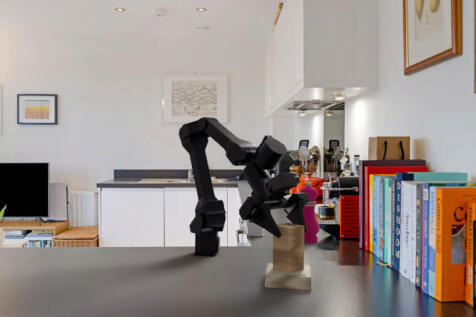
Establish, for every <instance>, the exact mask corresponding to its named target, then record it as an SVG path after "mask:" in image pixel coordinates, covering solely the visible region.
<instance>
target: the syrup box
mask: <svg viewBox="0 0 476 317" xmlns="http://www.w3.org/2000/svg"><path fill="white" fill-rule="evenodd" d="M249 196H251V194H248V195H247V197H249ZM266 234H267V230H265V229H263V228H262V227H260V226H258V225H256V224H255V223H253V222H249V220H247V236H249V237H261V236H263V237H264V236H265V235H266Z"/></svg>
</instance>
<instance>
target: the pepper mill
mask: <svg viewBox="0 0 476 317" xmlns="http://www.w3.org/2000/svg"><path fill="white" fill-rule="evenodd" d="M312 185H313V184H312V182H311V181H307V182H306V186H304V187H302V188H301V189H300V190H299V193H306V194H307V195H308V197H309V198H310V201H309V202H308V203H307V204H306V205H305V207H304V208H303V215H304V220H305V224H306V229H307V232H306V233H305V234H304V244H317V243H318V240H319V239H318V238H319V237H318V235H317V234H318V233H319V231H320V224H319V222H318V220H317V217H316V211H315V209H316V206H317V201H316V200H317V198H318V197H319V192H318V190H317V189H316V188H315V187H314V186H312Z"/></svg>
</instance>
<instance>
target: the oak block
mask: <svg viewBox="0 0 476 317" xmlns="http://www.w3.org/2000/svg"><path fill="white" fill-rule="evenodd" d="M276 224H277V223H276ZM277 226H278V228H279V230H280V232H281V237H280V238H277V237H276V236H274V235H273V234H272V263H273V268H274V269H277V270H280V271H283V272H286V273H291V272H295V271H299V270H303V269H304V265H305V243H304V226H303V225H298V224H293V223H292V222H284V223H278V224H277Z"/></svg>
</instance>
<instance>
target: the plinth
mask: <svg viewBox="0 0 476 317" xmlns="http://www.w3.org/2000/svg"><path fill="white" fill-rule="evenodd" d="M266 287H267V289H268V288H269V289H273V288H274V289H287V290H288V289H289V290H302V291H303V290H306V291H311V290H312V273H311V266H310V264H304V269H303V270H299V271H295V272H291V273H286V272H283V271H280V270H277V269H274V268H273V262H267V265H266V269H265V273H264V288H266Z"/></svg>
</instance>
